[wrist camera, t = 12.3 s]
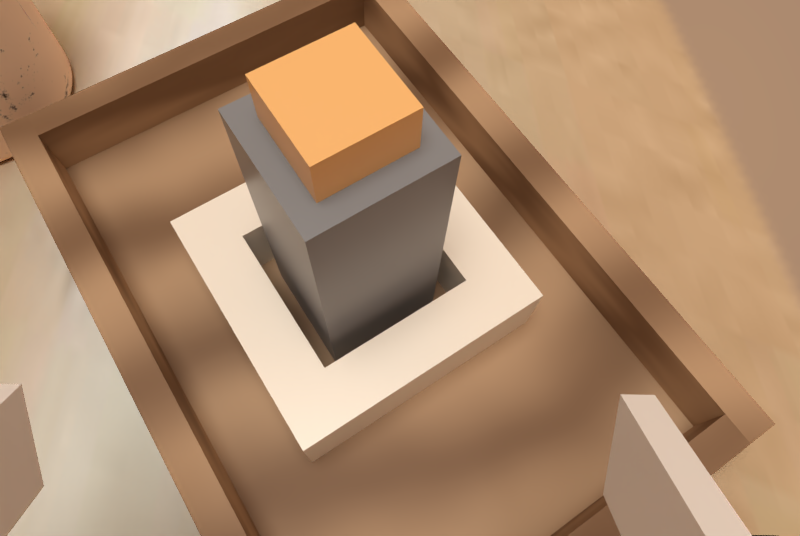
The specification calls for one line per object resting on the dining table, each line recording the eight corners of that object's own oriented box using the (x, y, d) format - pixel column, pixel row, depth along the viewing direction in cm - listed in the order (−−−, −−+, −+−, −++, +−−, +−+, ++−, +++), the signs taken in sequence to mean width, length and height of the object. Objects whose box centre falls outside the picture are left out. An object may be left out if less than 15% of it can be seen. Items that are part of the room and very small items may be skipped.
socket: (191, 255, 27) (170, 221, 24) (391, 146, 29) (392, 105, 26) (312, 462, 24) (302, 451, 21) (526, 321, 26) (543, 295, 23)
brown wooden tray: (40, 173, 29) (-2, 128, 26) (372, 15, 34) (370, -41, 30) (333, 746, 21) (324, 783, 18) (725, 439, 25) (775, 424, 22)
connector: (280, 275, 26) (201, 66, 15) (372, 223, 28) (364, -10, 16) (337, 364, 25) (296, 208, 13) (431, 306, 26) (469, 115, 15)
